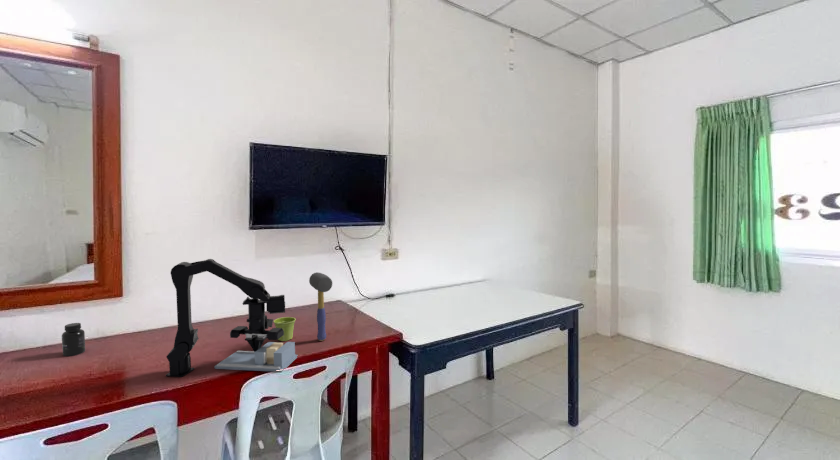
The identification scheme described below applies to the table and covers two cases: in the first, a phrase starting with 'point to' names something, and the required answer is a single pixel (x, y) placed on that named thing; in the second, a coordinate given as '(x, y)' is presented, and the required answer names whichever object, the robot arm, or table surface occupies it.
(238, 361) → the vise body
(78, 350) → the supplement bottle
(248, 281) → the robot arm
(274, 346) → the block
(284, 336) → the plant pot
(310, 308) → the table surface
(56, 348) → the table surface
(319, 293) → the rubber mallet
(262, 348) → the block
